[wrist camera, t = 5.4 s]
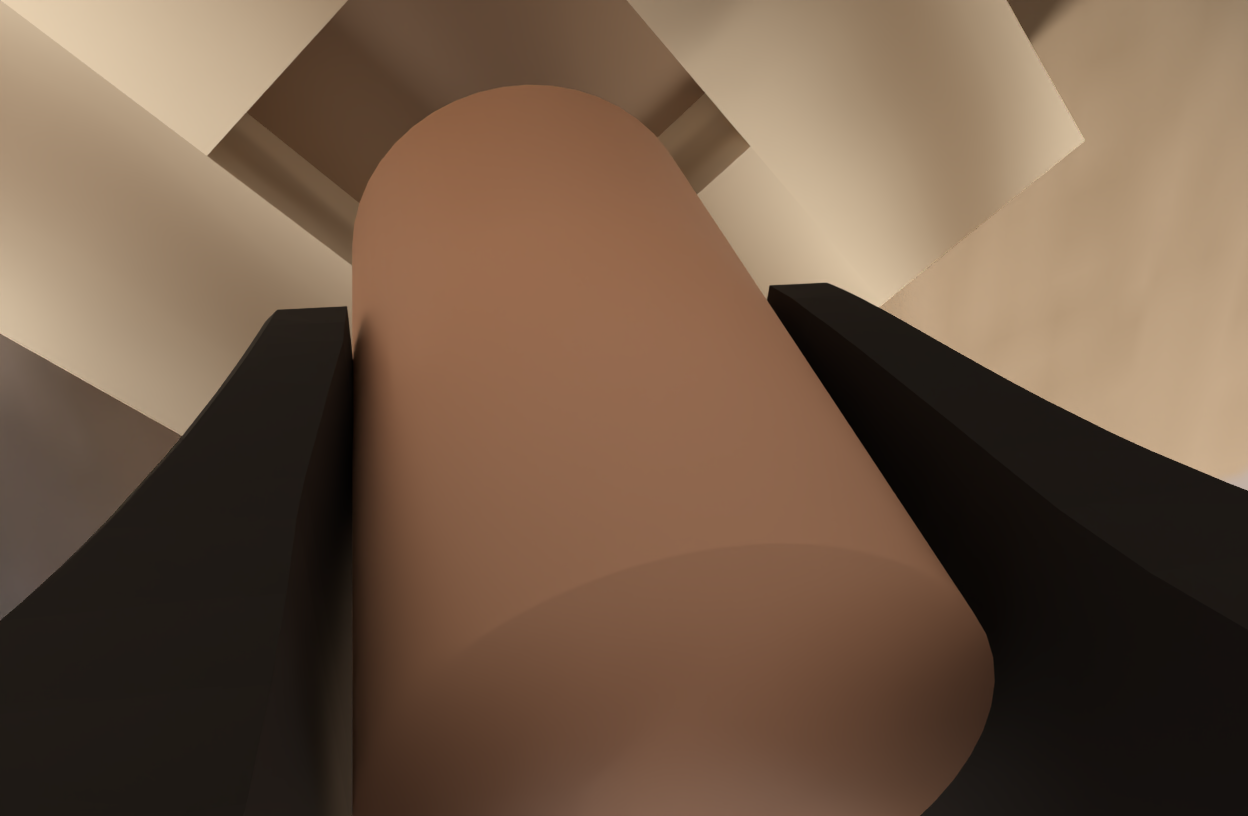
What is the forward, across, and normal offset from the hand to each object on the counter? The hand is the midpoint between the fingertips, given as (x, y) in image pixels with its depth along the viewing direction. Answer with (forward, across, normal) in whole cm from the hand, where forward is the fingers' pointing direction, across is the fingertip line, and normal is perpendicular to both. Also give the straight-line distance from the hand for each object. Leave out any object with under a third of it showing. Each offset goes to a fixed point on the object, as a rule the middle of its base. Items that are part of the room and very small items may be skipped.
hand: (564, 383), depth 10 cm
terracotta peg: (+2, 0, 0) cm, 3 cm away
